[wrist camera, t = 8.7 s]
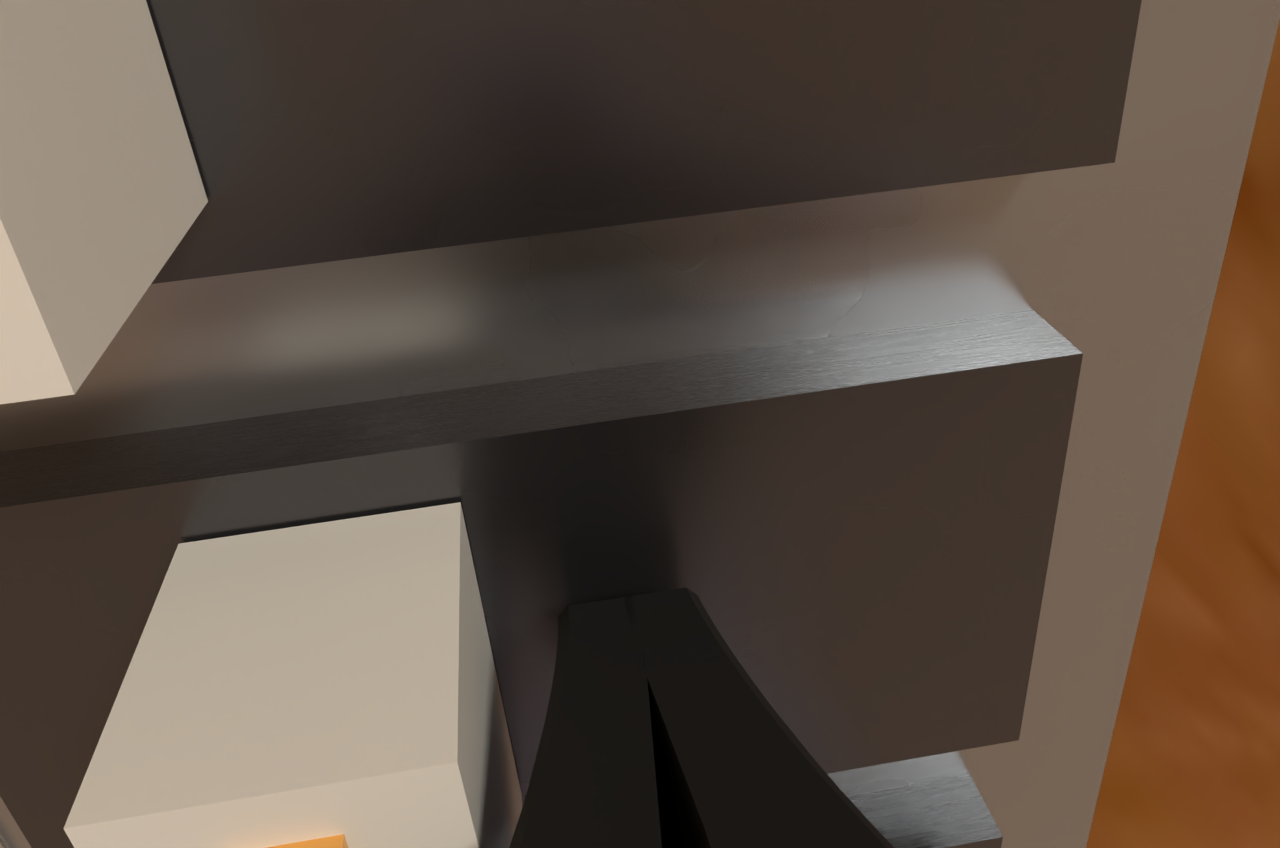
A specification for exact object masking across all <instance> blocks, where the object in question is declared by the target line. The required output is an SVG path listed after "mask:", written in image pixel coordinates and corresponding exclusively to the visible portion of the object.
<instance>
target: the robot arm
mask: <svg viewBox="0 0 1280 848" xmlns="http://www.w3.org/2000/svg"><path fill="white" fill-rule="evenodd" d="M509 848H894V847H893V846H892V845H891V844H890V843H889V842H888V841H887V839H886V838H885V837H884V836H883V835H882V834H881V833H880V832H879V831H878V830H877V829H876V828H875V827H874V826H873V825H872V824H871V822H870V821H869V820H868V819H867V818H866V817H865V816H864V815H863V814H862V813H861V811H860V810H859V809H858V808H857V807H856V806H855V805H854V804H853V803H852V802H851V800H850V799H849V798H848V797H847V796H846V795H845V794H844V793H843V792H842V791H841V790H840V788H839V787H838V786H837V785H836V784H835V783H834V781H833V780H832V779H831V778H830V777H829V776H828V775H827V773H826V772H825V771H824V770H823V769H822V768H821V766H820V765H819V764H818V763H817V762H816V761H815V759H814V758H813V757H812V756H811V754H810V753H809V752H808V751H807V750H806V748H805V747H804V746H803V745H802V743H801V742H800V741H799V740H798V738H797V737H796V736H795V735H794V733H793V732H792V731H791V730H790V728H789V727H788V726H787V725H786V724H785V722H784V721H783V720H782V719H781V717H780V716H779V715H778V714H777V712H776V711H775V710H774V709H773V707H772V706H771V705H770V703H769V702H768V701H767V699H766V698H765V697H764V695H763V694H762V693H761V692H760V690H759V689H758V688H757V686H756V685H755V683H754V682H753V681H752V679H751V678H750V676H749V675H748V674H747V672H746V671H745V669H744V668H743V667H742V665H741V664H740V662H739V661H738V660H737V658H736V657H735V655H734V654H733V652H732V651H731V649H730V648H729V646H728V645H727V643H726V642H725V640H724V639H723V637H722V636H721V634H720V633H719V631H718V629H717V628H716V626H715V625H714V623H713V621H712V620H711V618H710V616H709V615H708V613H707V611H706V610H705V608H704V606H703V604H702V602H701V600H700V598H699V596H698V595H697V594H695V593H694V592H692V591H691V590H689V589H688V588H680V589H673V590H667V591H660V592H654V593H647V594H641V595H634V596H628V597H621V598H615V599H608V600H602V601H595V602H589V603H582V604H576V605H570V606H568V607H567V608H566V609H565V610H564V611H563V612H562V613H561V614H560V615H559V616H558V642H557V653H556V662H555V670H554V676H553V682H552V688H551V693H550V698H549V703H548V708H547V714H546V719H545V723H544V727H543V731H542V735H541V739H540V743H539V747H538V751H537V755H536V759H535V763H534V766H533V770H532V774H531V778H530V782H529V786H528V790H527V793H526V797H525V800H524V803H523V807H522V810H521V813H520V816H519V819H518V822H517V825H516V828H515V831H514V835H513V838H512V841H511V844H510V847H509Z"/></svg>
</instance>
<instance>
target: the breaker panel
mask: <svg viewBox="0 0 1280 848" xmlns="http://www.w3.org/2000/svg"><path fill="white" fill-rule="evenodd" d="M146 2H147V5H148V8H149V12H150V15H151V18H152V21H153V25H154V28H155V31H156V34H157V37H158V41H159V44H160V47H161V50H162V54H163V57H164V60H165V63H166V67H167V70H168V73H169V76H170V80H171V83H172V86H173V89H174V93H175V96H176V99H177V102H178V106H179V109H180V112H181V115H182V118H183V122H184V125H185V128H186V131H187V135H188V138H189V141H190V144H191V148H192V151H193V154H194V157H195V161H196V164H197V167H198V170H199V174H200V177H201V180H202V183H203V186H204V190H205V193H206V196H207V199H208V202H207V204H206V205H205V207H204V208H203V210H202V211H201V213H200V214H199V215H198V217H197V218H196V220H195V221H194V223H193V224H192V226H191V227H190V228H189V230H188V231H187V233H186V234H185V236H184V237H183V239H182V240H181V241H180V243H179V244H178V246H177V247H176V249H175V250H174V252H173V253H172V254H171V256H170V257H169V259H168V260H167V262H166V263H165V265H164V266H163V267H162V269H161V270H160V272H159V273H158V275H157V276H156V278H155V279H154V280H153V282H152V283H151V285H150V286H149V288H148V289H147V291H146V292H145V293H144V295H143V296H142V298H141V299H140V301H139V302H138V304H137V305H136V307H135V308H134V309H133V311H132V312H131V314H130V315H129V317H128V318H127V320H126V321H125V322H124V324H123V325H122V327H121V328H120V330H119V331H118V333H117V334H116V335H115V337H114V338H113V340H112V341H111V343H110V344H109V346H108V347H107V348H106V350H105V351H104V353H103V354H102V356H101V357H100V359H99V360H98V361H97V363H96V364H95V366H94V367H93V369H92V370H91V372H90V373H89V374H88V376H87V377H86V379H85V380H84V382H83V383H82V385H81V386H80V387H79V389H78V390H77V392H76V393H75V395H67V396H60V397H52V398H45V399H37V400H30V401H22V402H15V403H7V404H0V848H74V846H73V845H72V843H71V841H70V839H69V838H68V836H67V834H66V832H65V831H64V829H63V828H64V826H65V824H66V821H67V819H68V816H69V814H70V811H71V809H72V806H73V804H74V801H75V799H76V796H77V794H78V791H79V789H80V786H81V784H82V781H83V779H84V776H85V774H86V772H87V769H88V767H89V764H90V762H91V759H92V757H93V754H94V752H95V749H96V747H97V744H98V742H99V739H100V737H101V734H102V732H103V729H104V727H105V724H106V722H107V720H108V717H109V715H110V712H111V710H112V707H113V705H114V702H115V700H116V697H117V695H118V692H119V690H120V687H121V685H122V682H123V680H124V677H125V675H126V672H127V670H128V667H129V665H130V663H131V660H132V658H133V655H134V653H135V650H136V648H137V645H138V643H139V640H140V638H141V635H142V633H143V630H144V628H145V625H146V623H147V620H148V618H149V615H150V613H151V611H152V608H153V606H154V603H155V601H156V598H157V596H158V593H159V591H160V588H161V586H162V583H163V581H164V578H165V576H166V573H167V571H168V568H169V566H170V563H171V561H172V559H173V556H174V554H175V551H176V549H177V546H178V544H180V543H187V542H194V541H200V540H207V539H214V538H221V537H227V536H234V535H241V534H248V533H255V532H261V531H268V530H275V529H282V528H289V527H295V526H302V525H309V524H316V523H323V522H329V521H336V520H343V519H350V518H357V517H363V516H370V515H377V514H384V513H391V512H397V511H404V510H411V509H418V508H425V507H431V506H438V505H445V504H452V503H459V502H461V507H462V511H463V516H464V521H465V526H466V531H467V535H468V540H469V545H470V550H471V555H472V559H473V564H474V569H475V574H476V579H477V583H478V588H479V593H480V598H481V603H482V607H483V612H484V617H485V622H486V626H487V631H488V636H489V641H490V646H491V650H492V655H493V660H494V665H495V670H496V674H497V679H498V684H499V689H500V694H501V698H502V703H503V708H504V713H505V718H506V722H507V727H508V732H509V737H510V741H511V746H512V751H513V756H514V761H515V765H516V770H517V775H518V780H519V785H520V789H521V794H522V807H523V803H524V800H525V797H526V793H527V790H528V786H529V782H530V778H531V774H532V770H533V766H534V763H535V759H536V755H537V751H538V747H539V743H540V739H541V735H542V731H543V727H544V723H545V719H546V714H547V708H548V703H549V698H550V693H551V688H552V682H553V676H554V670H555V662H556V653H557V642H558V616H559V615H560V614H561V613H562V612H563V611H564V610H565V609H566V608H567V607H568V606H570V605H576V604H582V603H589V602H595V601H602V600H608V599H615V598H621V597H628V596H634V595H641V594H647V593H654V592H660V591H667V590H673V589H680V588H688V589H689V590H691V591H692V592H694V593H695V594H697V595H698V596H699V598H700V600H701V602H702V604H703V606H704V608H705V610H706V611H707V613H708V615H709V616H710V618H711V620H712V621H713V623H714V625H715V626H716V628H717V629H718V631H719V633H720V634H721V636H722V637H723V639H724V640H725V642H726V643H727V645H728V646H729V648H730V649H731V651H732V652H733V654H734V655H735V657H736V658H737V660H738V661H739V662H740V664H741V665H742V667H743V668H744V669H745V671H746V672H747V674H748V675H749V676H750V678H751V679H752V681H753V682H754V683H755V685H756V686H757V688H758V689H759V690H760V692H761V693H762V694H763V695H764V697H765V698H766V699H767V701H768V702H769V703H770V705H771V706H772V707H773V709H774V710H775V711H776V712H777V714H778V715H779V716H780V717H781V719H782V720H783V721H784V722H785V724H786V725H787V726H788V727H789V728H790V730H791V731H792V732H793V733H794V735H795V736H796V737H797V738H798V740H799V741H800V742H801V743H802V745H803V746H804V747H805V748H806V750H807V751H808V752H809V753H810V754H811V756H812V757H813V758H814V759H815V761H816V762H817V763H818V764H819V765H820V766H821V768H822V769H823V770H824V771H825V772H826V773H827V775H828V776H829V777H830V778H831V779H832V780H833V781H834V783H835V784H836V785H837V786H838V787H839V788H840V790H841V791H842V792H843V793H844V794H845V795H846V796H847V797H848V798H849V799H850V800H851V802H852V803H853V804H854V805H855V806H856V807H857V808H858V809H859V810H860V811H861V813H862V814H863V815H864V816H865V817H866V818H867V819H868V820H869V821H870V822H871V824H872V825H873V826H874V827H875V828H876V829H877V830H878V831H879V832H880V833H881V834H882V835H883V836H884V837H885V838H886V839H887V841H888V842H889V843H890V844H891V845H892V846H893V847H894V848H1086V845H1087V841H1088V836H1089V832H1090V828H1091V824H1092V819H1093V815H1094V811H1095V807H1096V802H1097V798H1098V794H1099V789H1100V785H1101V781H1102V777H1103V772H1104V768H1105V764H1106V759H1107V755H1108V751H1109V747H1110V742H1111V738H1112V734H1113V730H1114V725H1115V721H1116V717H1117V712H1118V708H1119V704H1120V700H1121V695H1122V691H1123V687H1124V682H1125V678H1126V674H1127V670H1128V665H1129V661H1130V657H1131V653H1132V648H1133V644H1134V640H1135V635H1136V631H1137V627H1138V623H1139V618H1140V614H1141V610H1142V605H1143V601H1144V597H1145V593H1146V588H1147V584H1148V580H1149V575H1150V571H1151V567H1152V563H1153V558H1154V554H1155V550H1156V546H1157V541H1158V537H1159V533H1160V528H1161V524H1162V520H1163V516H1164V511H1165V507H1166V503H1167V498H1168V494H1169V490H1170V486H1171V481H1172V477H1173V473H1174V469H1175V464H1176V460H1177V456H1178V451H1179V447H1180V443H1181V439H1182V434H1183V430H1184V426H1185V421H1186V417H1187V413H1188V409H1189V404H1190V400H1191V396H1192V392H1193V387H1194V383H1195V379H1196V374H1197V370H1198V366H1199V362H1200V357H1201V353H1202V349H1203V344H1204V340H1205V336H1206V332H1207V327H1208V323H1209V319H1210V314H1211V310H1212V306H1213V302H1214V297H1215V293H1216V289H1217V285H1218V280H1219V276H1220V272H1221V267H1222V263H1223V259H1224V255H1225V250H1226V246H1227V242H1228V237H1229V233H1230V229H1231V225H1232V220H1233V216H1234V212H1235V208H1236V203H1237V199H1238V195H1239V190H1240V186H1241V182H1242V178H1243V173H1244V169H1245V165H1246V160H1247V156H1248V152H1249V148H1250V143H1251V139H1252V135H1253V131H1254V126H1255V122H1256V118H1257V113H1258V109H1259V105H1260V101H1261V96H1262V92H1263V88H1264V83H1265V79H1266V75H1267V71H1268V66H1269V62H1270V58H1271V54H1272V49H1273V45H1274V41H1275V36H1276V32H1277V28H1278V24H1279V19H1280V0H146Z"/></svg>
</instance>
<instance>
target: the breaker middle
mask: <svg viewBox="0 0 1280 848" xmlns="http://www.w3.org/2000/svg"><path fill="white" fill-rule="evenodd" d="M521 810H522V794H521V789H520V785H519V780H518V775H517V770H516V765H515V761H514V756H513V751H512V746H511V741H510V737H509V732H508V727H507V722H506V718H505V713H504V708H503V703H502V698H501V694H500V689H499V684H498V679H497V674H496V670H495V665H494V660H493V655H492V650H491V646H490V641H489V636H488V631H487V626H486V622H485V617H484V612H483V607H482V603H481V598H480V593H479V588H478V583H477V579H476V574H475V569H474V564H473V559H472V555H471V550H470V545H469V540H468V535H467V531H466V526H465V521H464V516H463V511H462V507H461V502H459V503H452V504H445V505H438V506H431V507H425V508H418V509H411V510H404V511H397V512H391V513H384V514H377V515H370V516H363V517H357V518H350V519H343V520H336V521H329V522H323V523H316V524H309V525H302V526H295V527H289V528H282V529H275V530H268V531H261V532H255V533H248V534H241V535H234V536H227V537H221V538H214V539H207V540H200V541H194V542H187V543H180V544H178V546H177V549H176V551H175V554H174V556H173V559H172V561H171V563H170V566H169V568H168V571H167V573H166V576H165V578H164V581H163V583H162V586H161V588H160V591H159V593H158V596H157V598H156V601H155V603H154V606H153V608H152V611H151V613H150V615H149V618H148V620H147V623H146V625H145V628H144V630H143V633H142V635H141V638H140V640H139V643H138V645H137V648H136V650H135V653H134V655H133V658H132V660H131V663H130V665H129V667H128V670H127V672H126V675H125V677H124V680H123V682H122V685H121V687H120V690H119V692H118V695H117V697H116V700H115V702H114V705H113V707H112V710H111V712H110V715H109V717H108V720H107V722H106V724H105V727H104V729H103V732H102V734H101V737H100V739H99V742H98V744H97V747H96V749H95V752H94V754H93V757H92V759H91V762H90V764H89V767H88V769H87V772H86V774H85V776H84V779H83V781H82V784H81V786H80V789H79V791H78V794H77V796H76V799H75V801H74V804H73V806H72V809H71V811H70V814H69V816H68V819H67V821H66V824H65V826H64V828H63V829H64V831H65V832H66V834H67V836H68V838H69V839H70V841H71V843H72V845H73V846H74V848H509V847H510V844H511V841H512V838H513V835H514V831H515V828H516V825H517V822H518V819H519V816H520V813H521Z"/></svg>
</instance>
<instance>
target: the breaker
mask: <svg viewBox="0 0 1280 848" xmlns="http://www.w3.org/2000/svg"><path fill="white" fill-rule="evenodd" d="M207 202H208V199H207V196H206V193H205V190H204V186H203V183H202V180H201V177H200V174H199V170H198V167H197V164H196V161H195V157H194V154H193V151H192V148H191V144H190V141H189V138H188V135H187V131H186V128H185V125H184V122H183V118H182V115H181V112H180V109H179V106H178V102H177V99H176V96H175V93H174V89H173V86H172V83H171V80H170V76H169V73H168V70H167V67H166V63H165V60H164V57H163V54H162V50H161V47H160V44H159V41H158V37H157V34H156V31H155V28H154V25H153V21H152V18H151V15H150V12H149V8H148V5H147V2H146V0H0V404H7V403H15V402H22V401H30V400H37V399H45V398H52V397H60V396H67V395H75V393H76V392H77V390H78V389H79V387H80V386H81V385H82V383H83V382H84V380H85V379H86V377H87V376H88V374H89V373H90V372H91V370H92V369H93V367H94V366H95V364H96V363H97V361H98V360H99V359H100V357H101V356H102V354H103V353H104V351H105V350H106V348H107V347H108V346H109V344H110V343H111V341H112V340H113V338H114V337H115V335H116V334H117V333H118V331H119V330H120V328H121V327H122V325H123V324H124V322H125V321H126V320H127V318H128V317H129V315H130V314H131V312H132V311H133V309H134V308H135V307H136V305H137V304H138V302H139V301H140V299H141V298H142V296H143V295H144V293H145V292H146V291H147V289H148V288H149V286H150V285H151V283H152V282H153V280H154V279H155V278H156V276H157V275H158V273H159V272H160V270H161V269H162V267H163V266H164V265H165V263H166V262H167V260H168V259H169V257H170V256H171V254H172V253H173V252H174V250H175V249H176V247H177V246H178V244H179V243H180V241H181V240H182V239H183V237H184V236H185V234H186V233H187V231H188V230H189V228H190V227H191V226H192V224H193V223H194V221H195V220H196V218H197V217H198V215H199V214H200V213H201V211H202V210H203V208H204V207H205V205H206V204H207Z"/></svg>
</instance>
